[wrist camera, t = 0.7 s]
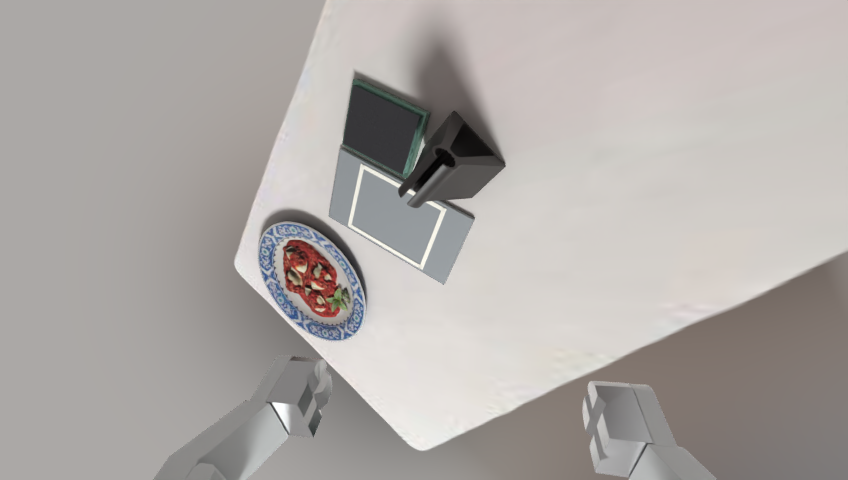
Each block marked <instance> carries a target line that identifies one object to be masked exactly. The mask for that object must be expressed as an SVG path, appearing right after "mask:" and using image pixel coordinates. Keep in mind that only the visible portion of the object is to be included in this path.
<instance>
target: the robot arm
mask: <svg viewBox="0 0 848 480" xmlns="http://www.w3.org/2000/svg"><path fill="white" fill-rule="evenodd" d="M326 367H327V364H326V362H325V360H324V359H316V358H306V357H296V356H285V355H279V356H278V357H277V358H276V359H275V360H274V362H273V363H272V365H271V366H270V368H269V370H268V371H267V373H266V375H265V376H264V378H263V380H262V381H261V383H260V385H259V387H258V388H257V390H256V391H255V393H254V394H253V396H252V398H251V399H250V401H247V400H245V401H244V402H243V403H241V404H240V405H239V406H237V407H236V408H235V409H233V410H232V411H230V412H229V413H228V414H226V415H225V416H224V417H222V418H221V419H220V420H219V421H217V422H216V423H214V424H213V425H212V426H210V427H209V428H207V429H206V430H205V431H203V432H202V433H201V434H199V435H198V436H197V437H195V438H194V439H193V440H191V441H190V442H189V443H187V444H186V445H185V446H183V447H182V448H180V449H179V450H178V451H176V452H175V453H174V454H172V455H171V456H170V457H169V458H168V459H167V461H166V462H165V464H164V465H163V467H162V468H161V469H160V471H159V472H158V474H157V475H156V476H155V478H154V479H153V480H247V479H248V478H249V477H250V476H251V475H252V474H253V473H254V472H255V471H256V470H257V469H258V467H260V466H261V465H262V464H263V463H264V462H265V460H266V459H267V458H268V457H269V456H270V455H271V454H272V453H273V452H274V451H275V450H276V449H277V448H278V447H279V446H280V445H281V444H282V443H283V442H284V441H285V440H286V439H287V438H288V435H292V436H302V437H314V435H315V433H316V430H317V428H318V425H319V423H320V420H321V418H322V415H321V411H320V409H321V408H323V407H324V406H325V405H326V404H327V403H328V400H329V398H330V395H331V389H332V378H331V375H330V374H329V373H328V372H327V371H326V370H325V369H326ZM588 392H589V395H587V396H586V397H584V402H583V419H584V425H585V430H586V432H587V433H588V434H589V435H590V436H591V437H592V441H591V444H590V451H591V456H592V460H593V464H594V468H595V472H596V473H602V474H609V475H616V476H622V477H629V480H717V479H716V478H715V477H714V476H713V475H712V474H711V473H710V472H709V471H708V470H707V469H706V468H705V467H703V466H702V465H701V464H700V463H699V462H698V461H697V460H696V459H695V458H694V457H693V456H692V455H691V454H690V453H689V452H688V451H687V450H686V449H685V448H681V447H677V445H676V442H675V440H674V438H673V436H672V433H671V431H670V428H669V426H668V424H667V421H666V419H665V417H664V414H663V413H662V410H661V407H660V405H659V403H658V401H657V398H656V396H655V393H654V391H653V390H652V388H651V387H650V386H648V385H638V384H628V383H616V382H602V381H590V382H589V385H588Z"/></svg>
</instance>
